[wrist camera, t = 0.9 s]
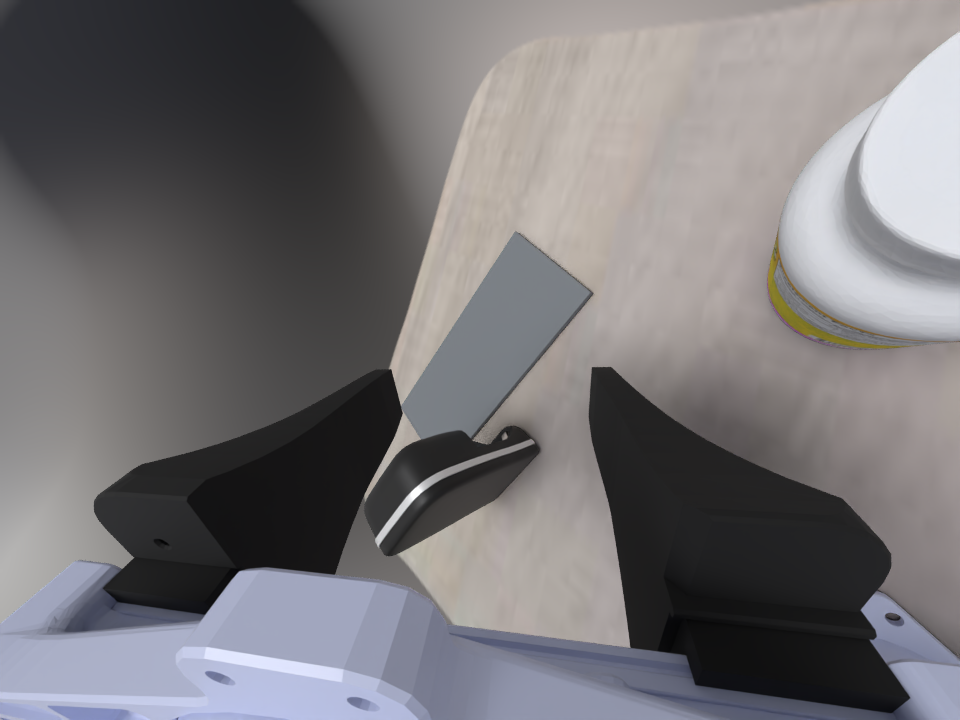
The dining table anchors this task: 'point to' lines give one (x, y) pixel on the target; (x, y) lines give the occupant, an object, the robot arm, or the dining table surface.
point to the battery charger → (442, 484)
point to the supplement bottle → (879, 222)
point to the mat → (495, 341)
